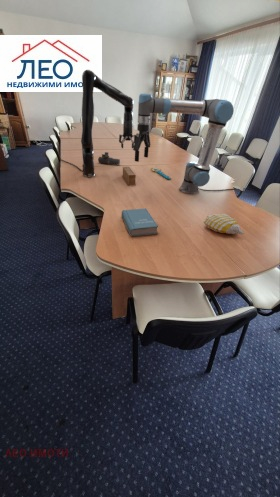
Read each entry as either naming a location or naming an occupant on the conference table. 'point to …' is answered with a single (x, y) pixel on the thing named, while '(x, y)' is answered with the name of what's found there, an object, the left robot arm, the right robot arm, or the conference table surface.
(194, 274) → the conference table surface
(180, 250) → the conference table surface
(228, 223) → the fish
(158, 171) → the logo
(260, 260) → the conference table surface
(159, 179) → the conference table surface
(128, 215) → the book
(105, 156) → the laser sight
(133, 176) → the bar
